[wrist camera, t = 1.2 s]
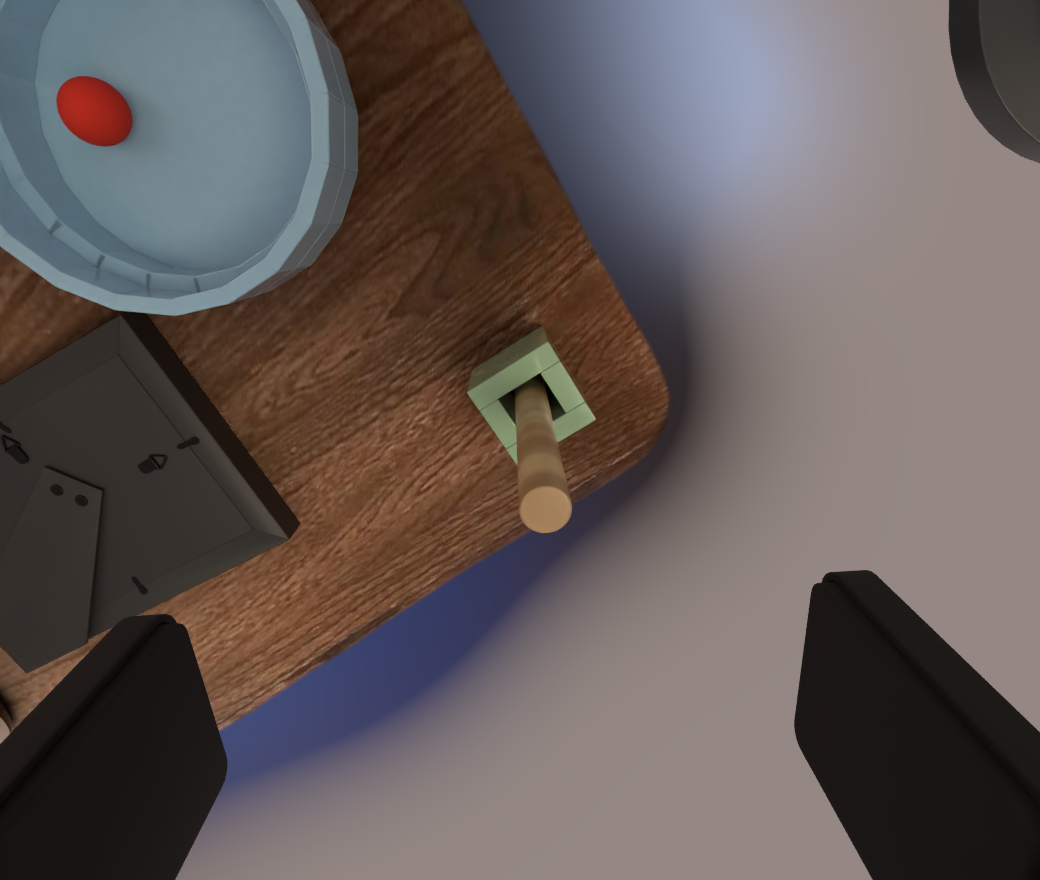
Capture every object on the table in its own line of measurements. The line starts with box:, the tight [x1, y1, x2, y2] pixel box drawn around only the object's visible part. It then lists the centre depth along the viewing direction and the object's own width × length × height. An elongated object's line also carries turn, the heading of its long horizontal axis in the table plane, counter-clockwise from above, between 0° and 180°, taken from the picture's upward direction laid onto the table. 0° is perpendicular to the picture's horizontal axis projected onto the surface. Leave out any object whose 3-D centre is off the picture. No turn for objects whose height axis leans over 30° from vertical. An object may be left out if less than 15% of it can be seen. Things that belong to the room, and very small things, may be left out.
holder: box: [467, 326, 596, 464], centre depth 34 cm, size 5×5×5 cm
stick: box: [515, 373, 572, 533], centre depth 28 cm, size 2×2×17 cm
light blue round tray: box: [0, 0, 358, 316], centre depth 28 cm, size 18×18×6 cm
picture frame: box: [0, 312, 300, 673], centre depth 37 cm, size 16×3×21 cm
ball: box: [56, 76, 132, 147], centre depth 29 cm, size 3×3×3 cm
